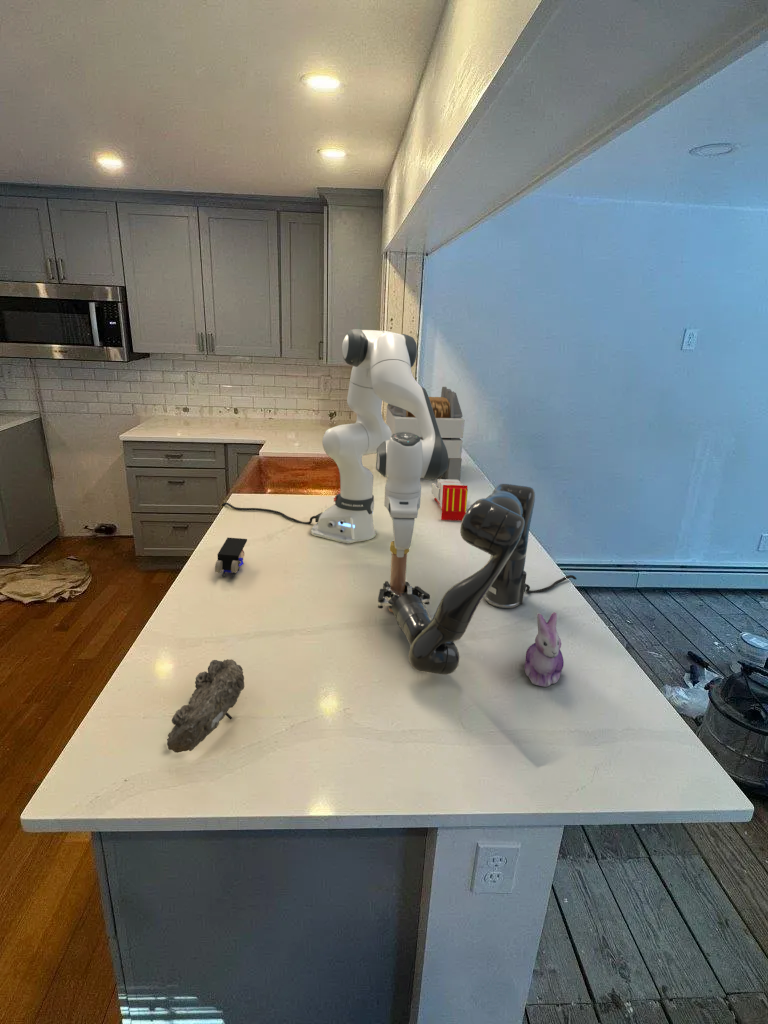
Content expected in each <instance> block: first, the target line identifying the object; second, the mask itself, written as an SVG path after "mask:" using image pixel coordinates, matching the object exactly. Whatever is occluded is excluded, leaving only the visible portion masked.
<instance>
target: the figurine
mask: <svg viewBox="0 0 768 1024" xmlns="http://www.w3.org/2000/svg"><path fill="white" fill-rule="evenodd" d="M536 623H537V634H536V636H535V637H534V638H535V640H534V643H532V644H530V645H529V647H528V648H527V650H526V652H525V661H524V674H525V675H526V676H527V678H528V679H529V680H530V682H531V684H532V685H536V686H540V687H548V688H549V687H550V686H551V685H554V684H556V683H557V682H558V681H559V679H560V677H561V673H562V671H563V669H564V664H565V663H564V656H563V654H562V651H561V648H562V639H561V637H560V635H559V632H558V629H557V624H558V613H557V612H555V611H554V612H552V613H551V614H550V616H549V619H548V621H546V619H545V617H544V616H543V615H542V614H541V613H537V614H536Z"/></svg>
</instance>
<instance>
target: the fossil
mask: <svg viewBox="0 0 768 1024" xmlns="http://www.w3.org/2000/svg"><path fill="white" fill-rule="evenodd" d="M243 670H244V669H243V667H242V665H240V664H237V662H236V661H235V660H234V659H232V658H231V659H227V658H226V659H224V660H223V661H222V660H217V659H212V660H211V661H210V663H209V665H208V666H207V671H201V672H199V673H198V674H197V675H196V676H195V680H194V684H195V685H194V687H195V689H194V690H193V693H192V694H191V697H190V698H189V700H188V704H184V705H182V706H181V707H180V709H177V710H176V711H175V713H174V715H173V716H172V718H171V723H172V724H173V727H172V730H171V731H170V732H168V734H167V738H166V741H167V742H166V745H167V749H168V750H169V751H173V752H174V753H176V754H178V753H182V752H188V751H189V752H192V751H193V750H195V748H196V747H197V746H199V744H200V743H201V742H203V741H204V740H205V739H206V738H207V737H208V736H209V735H210V734H211V733H212V732H214V730H215V729H217V727H218V726H219V724H220V722H221V721H222V720H223V719H224V718H225V716H226V717H227V719H229V720H233V717H232V715H230V714H229V710H230V709H231V708H234V706H235V704H236V703H237V702H238V699H239V697H240V695H241V693H242V691H243V690H245V689H244V688H245V675H244V671H243Z"/></svg>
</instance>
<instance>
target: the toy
mask: <svg viewBox="0 0 768 1024" xmlns="http://www.w3.org/2000/svg"><path fill="white" fill-rule="evenodd" d="M468 489H469V488H468V485H465V484H464V483H462V482H461V480H460V481H459V480H451V479H445V478H437V479H436V484H435V482H432V485H431V495H432V496H434V500H435V502H436V503H437V504H438V505H439V507H440V508H441V513H440V514H441V515H440V520H441V521H457V522H458V521H461V522H462V520H463V517H464V515H465V514H466V512H467V506H468V505H467V504H468V493H469V491H468Z"/></svg>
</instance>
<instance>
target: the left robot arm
mask: <svg viewBox="0 0 768 1024" xmlns="http://www.w3.org/2000/svg"><path fill="white" fill-rule="evenodd" d="M341 352H342V353H341V354H342V357H343V360H344V362H345V363H346V364H347V365H348V366H352V368H351V372H350V376H349V378H350V379H349V384H348V391H347V398H346V403H347V406H348V407H349V409H350V410H351V411H352V412H353V413H355V414H356V421H355V422H354V423H345V424H339V425H336V426H333V427H330V428H327V429H326V430H325V432H324V433H323V436H322V439H321V440H322V441H321V442H322V447H323V450H324V452H325V454H326V455H327V456H328V457H329V458H330V459H332V460H333V461H334V463H335V464H336V466H337V468H338V469H337V470H338V472H339V482H340V484H339V485H340V488H339V489H340V490H339V491H338V492H337V494H336V495H335V496H334V497H333V502H334V504H333V505H331V506H329V507H328V508H326V509H325V510H323V512H319V513H318V514H316V515H313V516H310V518H309V521H301V520H298V519H297V518H294V517H290V516H288V515H286V514H285V513H283V512H281V511H279V510H273V509H269V508H261V507H238V506H237V507H236V506H234V505H233V504H231V503H229V502H227V501H226V502H223V503H222V504H221V506H222V507H225V506H227V507H229V508H230V509H233V510H236V511H259V512H269V513H273V514H277V515H279V516H282V517H284V518H285V519H287V520H289V521H292V522H295V523H297V524H302V525H311V524H312V523H313V520H314V521H315V524H314V525H313V526H312V528H311V530H310V533H311V536H315V537H319V538H323V539H326V540H330V541H336V542H339V543H343V544H352V543H357V542H365V541H368V540H372V539H373V538H375V537H376V535H377V532H376V528H375V523H374V509H375V496H374V474H373V472H372V471H371V469H369V468H368V467H366V466H364V464H363V457H364V456H370V455H375V454H376V459H375V460H376V462H375V470H376V471H377V472H378V473H379V474H380V475H382V477H383V478H387V479H386V482H385V484H384V485H385V486H384V502H383V503H384V504H383V506H384V507H385V508H386V509H387V511H388V513H389V516H390V518H391V521H392V531H393V541H394V545H395V548H396V549H397V557H404V550H405V549H409V550H410V548H411V546H412V541H413V535H414V528H415V521H416V520H415V519H417V518H418V513H419V510H420V508H421V497H422V485H421V479H427V480H437V479H440V477H441V476H442V475H444V474H443V473H444V472H445V471H446V470H447V468H448V453H447V449H446V446H445V444H444V442H443V440H442V438H441V435H440V432H439V428H438V425H437V422H436V418H435V415H434V412H433V409H432V405H431V402H430V399H429V397H430V396H429V394H428V392H427V390H426V388H425V387H423V386H422V385H420V384H419V382H418V381H417V379H416V378H414V375H413V372H412V368H413V367H414V365H415V363H416V360H417V355H418V345H417V342H416V340H415V338H414V337H413V336H411V335H408V334H405V333H397V332H394V331H389V330H382V329H381V330H377V329H376V330H375V329H361V328H354V329H353V328H352V329H349V331H347V332H346V333H345V335H344V339H343V341H342V344H341ZM383 402H384V403H386V404H387V405H388V404H390V405H394V406H397V407H400V408H402V409H405V410H407V411H409V412H410V413H412V414H413V415H414V416H415V417H416V418H417V421H418V424H419V427H420V431H421V434H422V438H423V440H421V438H420V437H419V436H417V435H415V434H413V433H409V432H399V433H395V434H393V435H392V433H391V430H390V428H389V426H388V425H387V423H386V421H385V420H384V418H383V411H382V405H383Z"/></svg>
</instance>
